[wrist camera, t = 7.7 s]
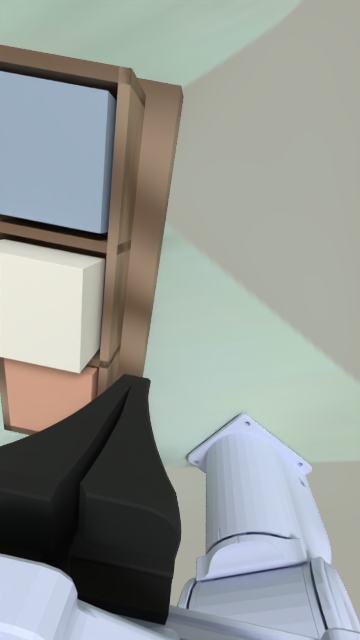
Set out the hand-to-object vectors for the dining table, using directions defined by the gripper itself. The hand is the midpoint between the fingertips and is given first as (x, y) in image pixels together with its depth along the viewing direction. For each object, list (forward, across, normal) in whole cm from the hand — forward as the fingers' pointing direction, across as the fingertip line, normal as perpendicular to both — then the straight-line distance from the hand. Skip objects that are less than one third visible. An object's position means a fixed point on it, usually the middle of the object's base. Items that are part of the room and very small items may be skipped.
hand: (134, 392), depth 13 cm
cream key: (+6, +7, -2) cm, 9 cm away
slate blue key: (+8, +7, -10) cm, 14 cm away
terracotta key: (+8, +7, +6) cm, 12 cm away
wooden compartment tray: (+9, +7, -2) cm, 12 cm away
